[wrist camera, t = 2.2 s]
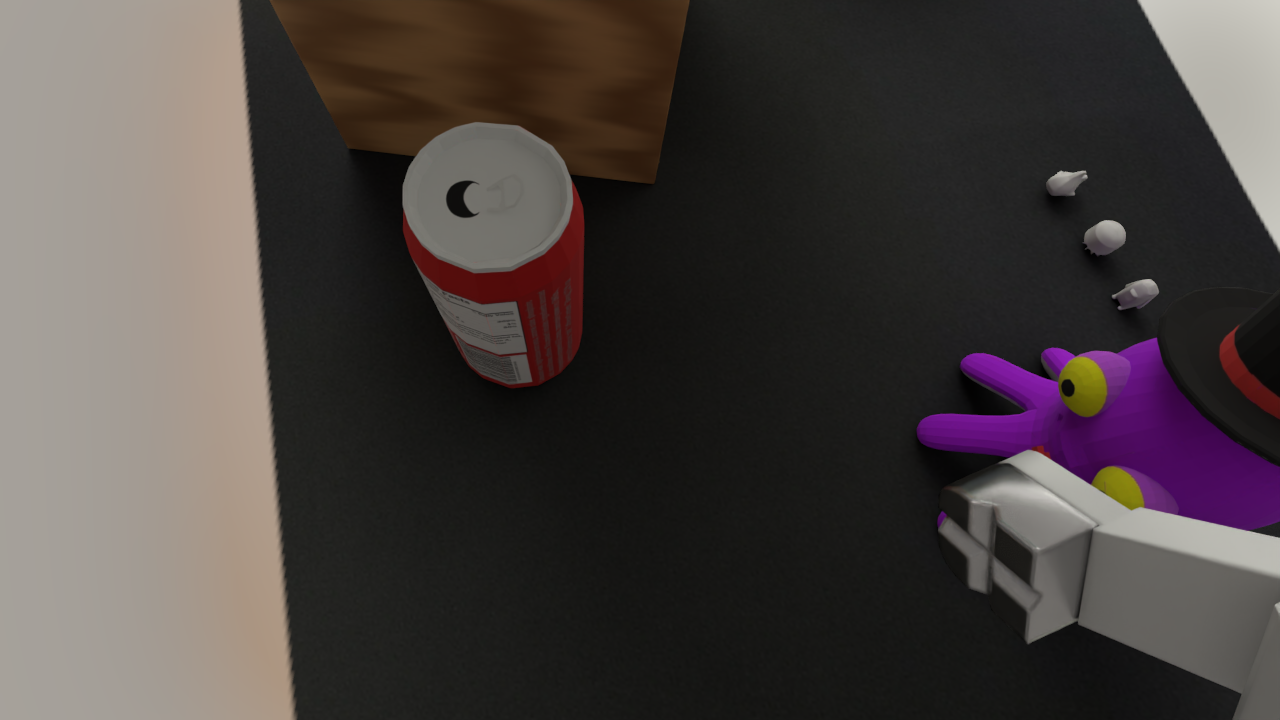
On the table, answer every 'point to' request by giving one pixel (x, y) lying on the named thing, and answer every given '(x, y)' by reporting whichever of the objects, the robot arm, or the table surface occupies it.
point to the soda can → (499, 248)
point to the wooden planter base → (497, 73)
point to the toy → (1151, 412)
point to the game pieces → (1104, 241)
